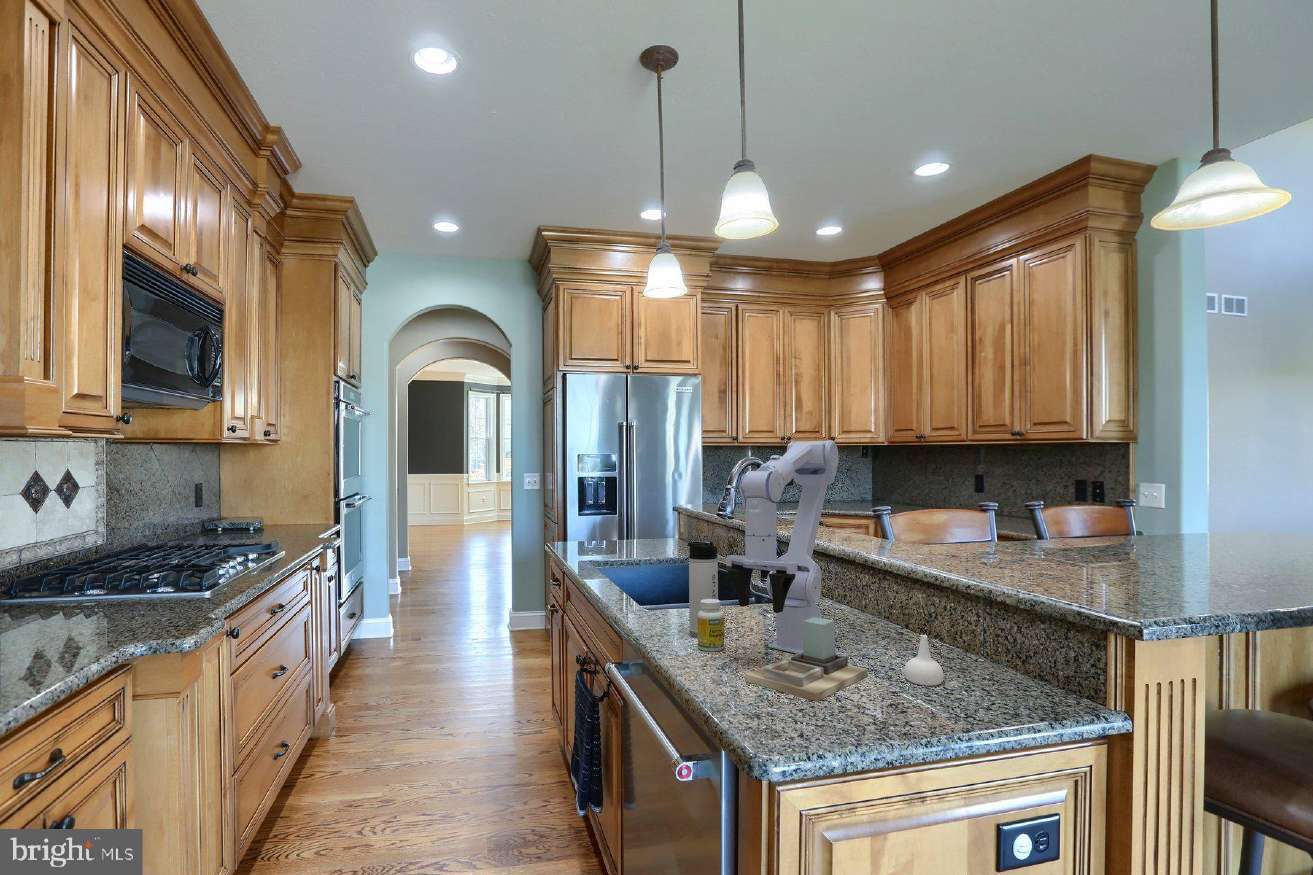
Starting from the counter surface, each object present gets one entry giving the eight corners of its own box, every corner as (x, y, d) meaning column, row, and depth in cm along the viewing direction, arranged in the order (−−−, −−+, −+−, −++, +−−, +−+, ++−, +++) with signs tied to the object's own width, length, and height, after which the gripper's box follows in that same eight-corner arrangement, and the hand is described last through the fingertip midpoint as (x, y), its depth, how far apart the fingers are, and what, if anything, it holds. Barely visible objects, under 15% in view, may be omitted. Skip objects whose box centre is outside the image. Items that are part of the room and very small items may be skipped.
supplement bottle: (713, 643, 138) (712, 596, 138) (729, 649, 133) (729, 601, 134) (692, 647, 135) (692, 599, 135) (708, 653, 130) (708, 604, 131)
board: (798, 659, 126) (798, 645, 126) (867, 675, 117) (867, 660, 117) (745, 681, 114) (744, 665, 114) (817, 701, 104) (817, 683, 104)
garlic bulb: (904, 687, 112) (903, 641, 112) (904, 672, 118) (903, 628, 118) (944, 691, 110) (943, 644, 110) (942, 676, 116) (942, 631, 115)
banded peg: (815, 661, 121) (814, 617, 121) (835, 665, 118) (834, 620, 119) (803, 666, 118) (803, 620, 119) (823, 671, 116) (823, 624, 116)
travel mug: (686, 631, 148) (685, 541, 148) (715, 630, 148) (714, 540, 149) (689, 638, 141) (689, 544, 142) (720, 638, 142) (719, 544, 143)
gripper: (716, 533, 126) (716, 606, 125) (781, 539, 116) (781, 618, 115) (739, 531, 131) (739, 601, 130) (803, 536, 121) (803, 612, 120)
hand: (760, 608), depth 123 cm, fingers open, 7 cm apart
